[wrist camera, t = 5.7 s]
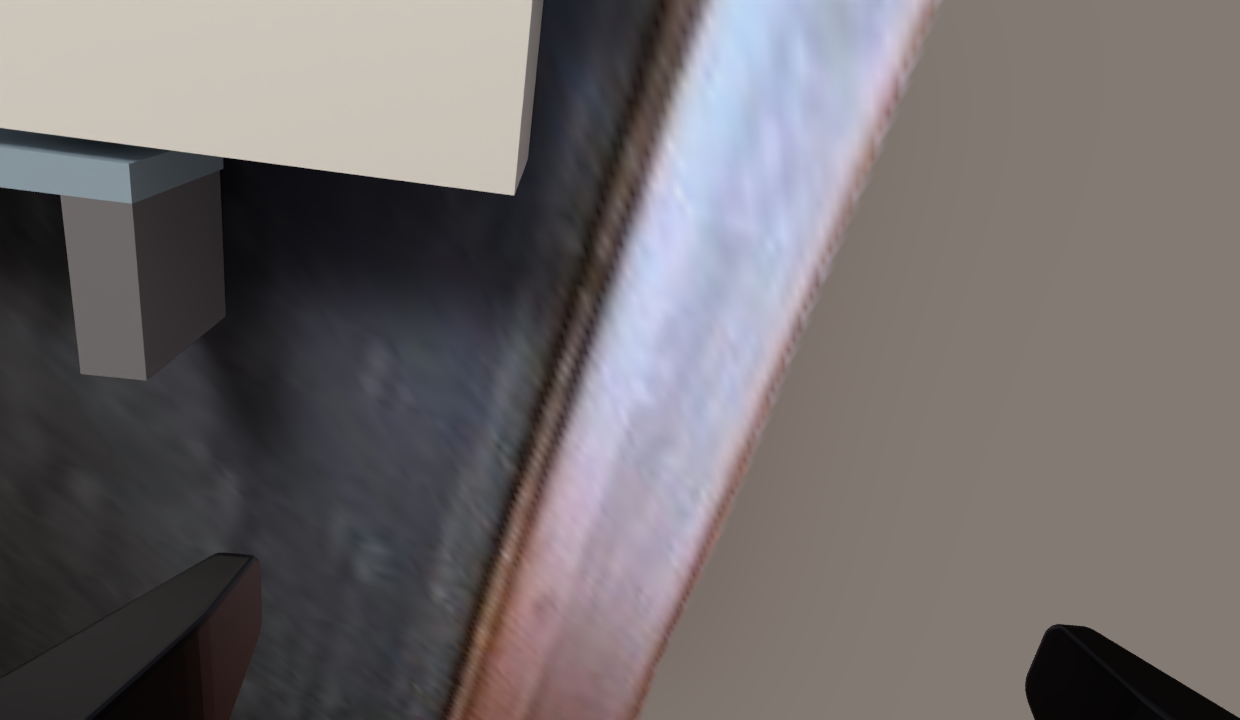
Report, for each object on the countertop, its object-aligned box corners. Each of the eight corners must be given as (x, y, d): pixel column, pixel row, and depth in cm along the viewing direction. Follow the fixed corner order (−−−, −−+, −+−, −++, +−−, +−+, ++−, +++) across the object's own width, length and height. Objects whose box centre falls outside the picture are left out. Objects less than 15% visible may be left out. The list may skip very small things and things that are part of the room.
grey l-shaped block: (228, 313, 19) (146, 380, 16) (-59, 281, 19) (-217, 342, 15) (222, 136, 18) (128, 163, 14) (-92, 94, 17) (-277, 111, 13)
